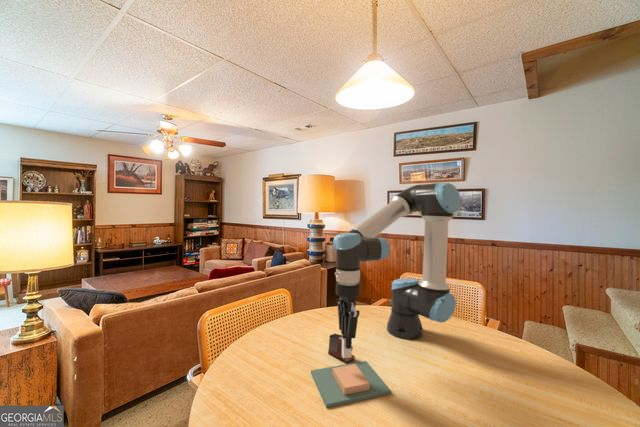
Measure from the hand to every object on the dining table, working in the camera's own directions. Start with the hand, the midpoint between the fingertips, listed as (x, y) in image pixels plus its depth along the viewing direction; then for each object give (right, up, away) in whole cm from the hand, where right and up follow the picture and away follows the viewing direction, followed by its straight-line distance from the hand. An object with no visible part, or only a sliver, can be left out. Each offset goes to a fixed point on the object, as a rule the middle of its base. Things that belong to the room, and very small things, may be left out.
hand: (346, 356), depth 86 cm
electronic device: (-1, -8, +13) cm, 15 cm away
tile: (-1, -5, +2) cm, 6 cm away
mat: (0, -8, -2) cm, 8 cm away
